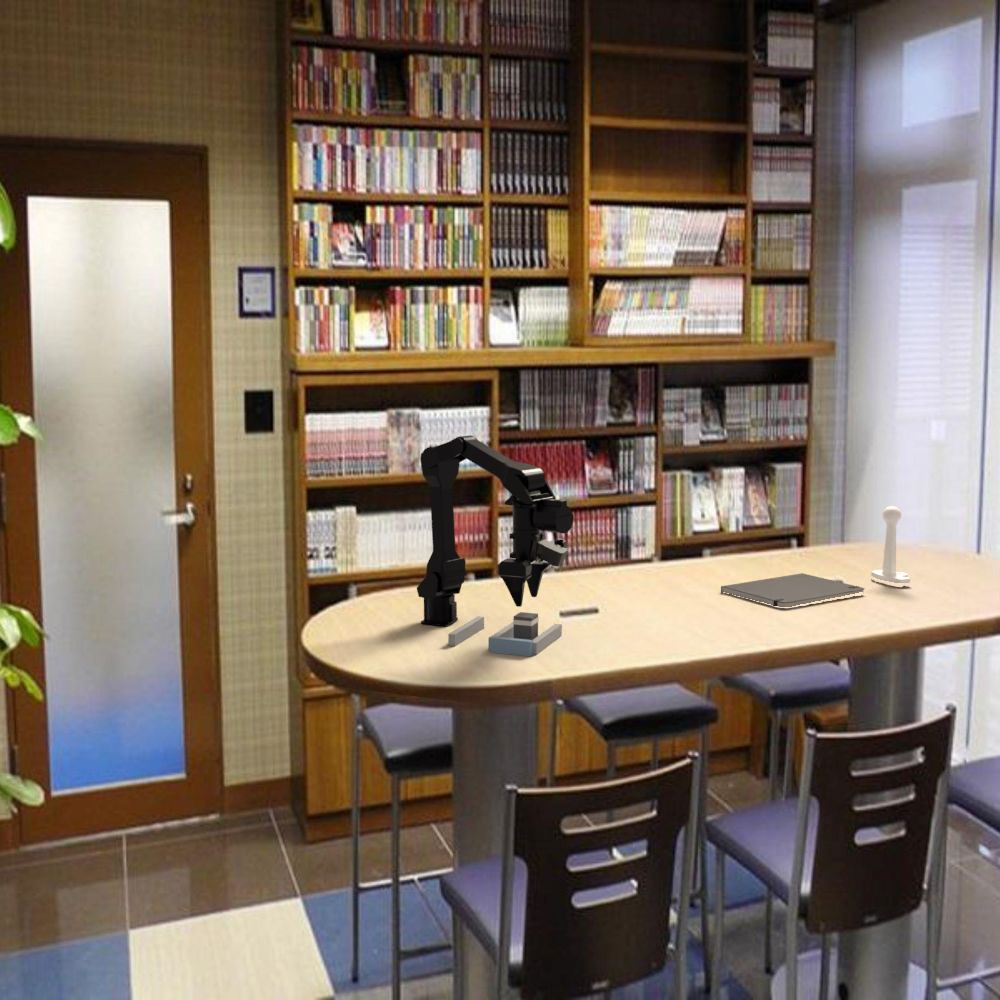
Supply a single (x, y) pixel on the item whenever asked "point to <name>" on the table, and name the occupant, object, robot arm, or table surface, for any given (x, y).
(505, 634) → the grey rectangular bars
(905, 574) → the joystick
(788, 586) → the notebook
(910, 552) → the table surface
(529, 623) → the grey capped block
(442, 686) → the table surface
